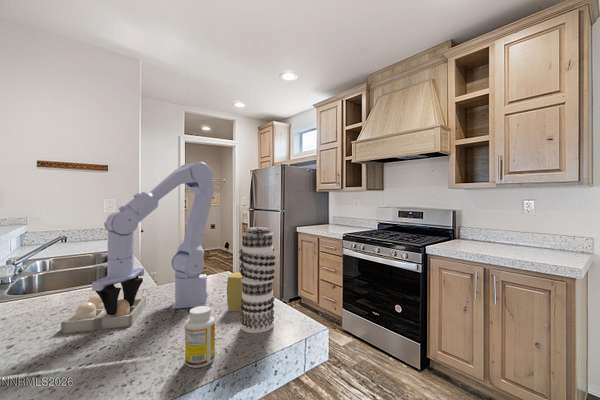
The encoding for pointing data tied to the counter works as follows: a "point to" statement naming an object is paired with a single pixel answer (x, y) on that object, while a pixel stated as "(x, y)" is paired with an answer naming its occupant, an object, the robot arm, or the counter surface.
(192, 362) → the supplement bottle
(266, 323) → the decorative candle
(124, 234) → the robot arm
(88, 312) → the pale egg
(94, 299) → the pale egg
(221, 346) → the counter surface
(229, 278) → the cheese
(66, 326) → the carton
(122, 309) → the egg
